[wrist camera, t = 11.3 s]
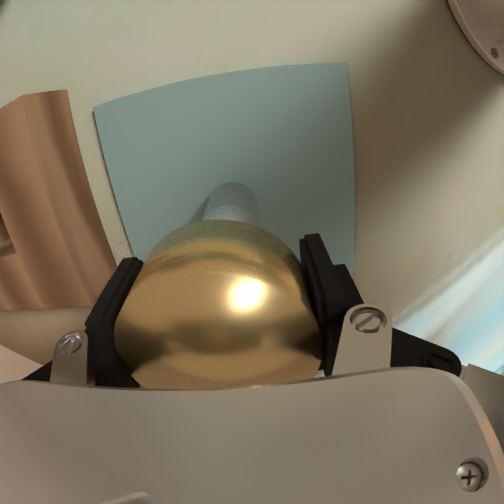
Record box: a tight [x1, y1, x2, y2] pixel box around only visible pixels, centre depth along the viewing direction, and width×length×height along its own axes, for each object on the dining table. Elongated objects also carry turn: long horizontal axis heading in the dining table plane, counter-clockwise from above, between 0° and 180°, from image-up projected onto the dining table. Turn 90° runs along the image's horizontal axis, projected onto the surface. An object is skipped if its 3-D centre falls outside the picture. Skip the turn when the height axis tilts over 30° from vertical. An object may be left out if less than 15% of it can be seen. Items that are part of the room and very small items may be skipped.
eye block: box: [0, 90, 117, 311], centre depth 17 cm, size 14×14×5 cm
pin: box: [114, 182, 323, 389], centre depth 13 cm, size 6×6×12 cm
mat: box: [93, 63, 355, 279], centre depth 20 cm, size 16×16×1 cm
